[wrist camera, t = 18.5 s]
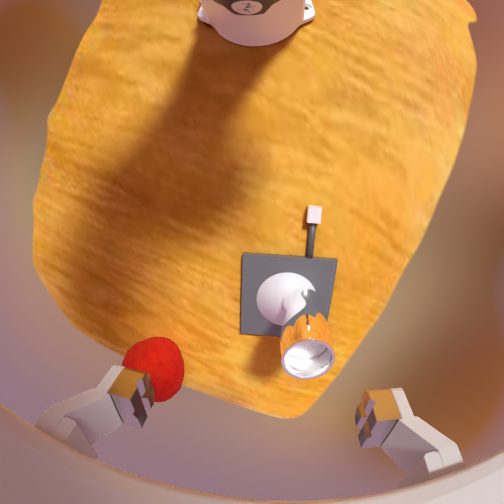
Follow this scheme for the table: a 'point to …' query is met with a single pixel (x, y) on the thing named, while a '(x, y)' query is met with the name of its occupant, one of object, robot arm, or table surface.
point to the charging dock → (283, 283)
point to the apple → (158, 365)
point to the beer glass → (305, 336)
